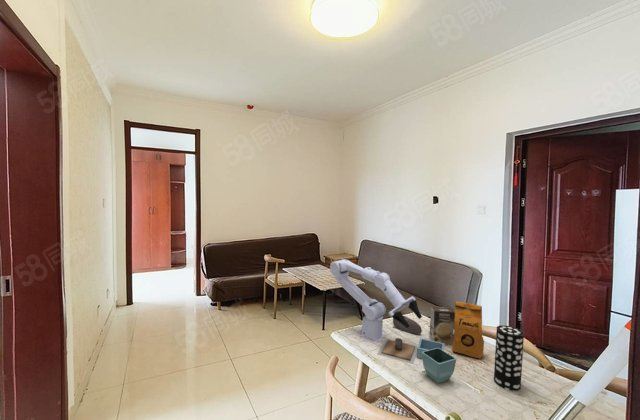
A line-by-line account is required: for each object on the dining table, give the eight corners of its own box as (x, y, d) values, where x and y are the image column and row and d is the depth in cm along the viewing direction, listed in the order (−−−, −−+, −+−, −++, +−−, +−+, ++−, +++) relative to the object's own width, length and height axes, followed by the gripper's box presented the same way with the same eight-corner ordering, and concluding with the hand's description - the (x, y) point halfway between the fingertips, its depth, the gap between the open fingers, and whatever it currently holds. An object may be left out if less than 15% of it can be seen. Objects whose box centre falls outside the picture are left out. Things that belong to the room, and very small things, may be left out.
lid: (381, 353, 125) (381, 342, 125) (387, 341, 136) (388, 331, 135) (410, 361, 120) (410, 349, 119) (414, 347, 130) (415, 337, 130)
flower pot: (420, 374, 112) (421, 351, 111) (437, 369, 115) (438, 347, 115) (438, 388, 103) (439, 363, 103) (455, 382, 107) (457, 358, 107)
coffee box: (432, 345, 134) (434, 310, 133) (428, 338, 140) (430, 305, 139) (453, 346, 133) (455, 312, 132) (448, 339, 139) (450, 306, 138)
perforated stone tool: (423, 335, 144) (424, 321, 143) (418, 338, 140) (419, 324, 140) (397, 324, 155) (397, 311, 154) (391, 327, 151) (392, 314, 151)
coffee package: (482, 362, 121) (485, 310, 119) (450, 353, 127) (452, 303, 126) (484, 352, 129) (486, 303, 128) (453, 343, 136) (455, 297, 134)
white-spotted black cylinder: (521, 394, 101) (524, 338, 100) (493, 385, 106) (496, 331, 105) (520, 381, 108) (523, 329, 107) (494, 374, 113) (496, 323, 112)
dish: (416, 358, 122) (417, 348, 122) (420, 347, 131) (420, 338, 131) (442, 365, 118) (442, 354, 118) (444, 353, 127) (444, 343, 126)
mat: (376, 355, 124) (376, 354, 124) (385, 339, 138) (385, 339, 138) (413, 364, 118) (413, 363, 118) (418, 347, 131) (418, 347, 131)
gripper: (385, 300, 127) (406, 328, 121) (408, 285, 133) (429, 310, 127) (380, 306, 132) (400, 333, 126) (403, 291, 138) (423, 316, 132)
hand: (414, 322), depth 127 cm, fingers open, 7 cm apart
